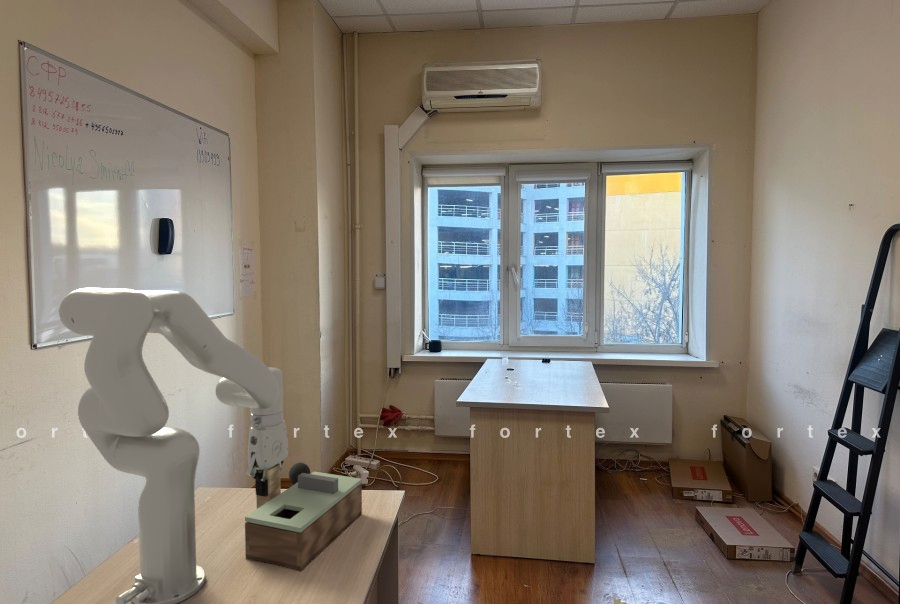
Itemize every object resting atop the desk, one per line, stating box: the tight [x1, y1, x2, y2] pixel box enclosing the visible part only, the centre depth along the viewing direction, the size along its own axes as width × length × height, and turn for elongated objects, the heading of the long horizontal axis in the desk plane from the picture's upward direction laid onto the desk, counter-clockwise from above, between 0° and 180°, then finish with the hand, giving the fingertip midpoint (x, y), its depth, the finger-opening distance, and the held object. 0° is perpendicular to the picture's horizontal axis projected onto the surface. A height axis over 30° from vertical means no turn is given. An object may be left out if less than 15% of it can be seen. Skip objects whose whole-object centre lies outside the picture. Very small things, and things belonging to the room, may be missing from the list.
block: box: [255, 464, 282, 509], centre depth 123 cm, size 4×4×12 cm
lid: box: [244, 471, 363, 533], centre depth 117 cm, size 26×14×4 cm, turn 162°
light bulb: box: [288, 462, 311, 486], centre depth 136 cm, size 6×6×10 cm
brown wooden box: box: [244, 483, 363, 572], centre depth 118 cm, size 26×14×8 cm, turn 162°
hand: (268, 490), depth 124 cm, fingers closed on block, 4 cm apart
